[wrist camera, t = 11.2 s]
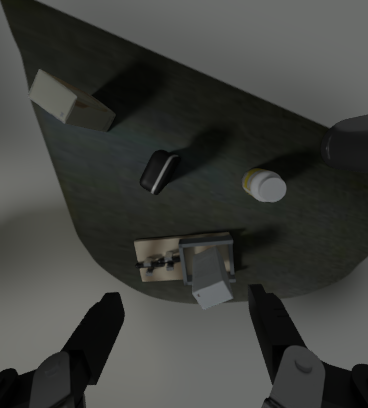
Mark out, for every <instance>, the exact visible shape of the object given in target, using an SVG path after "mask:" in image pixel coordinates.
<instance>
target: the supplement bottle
mask: <svg viewBox="0 0 368 408" xmlns="http://www.w3.org/2000/svg"><path fill="white" fill-rule="evenodd" d="M242 186H243V188H244V190H245V191H246V192H248V193H249V194H250V195H251V196H253V197H254V198H255V199H257V200H259V201H262V202H276V201H278V200H280V199H281V198H282V197H283V196H284V195H285V193H286V184H285V182H284V181H283V180H282V179H281V177H280V176H279V175H278V174H277V173H275V172H272V171H268V170H264V169H260V168H254V169H251V170H249V171H247V172H246V173H245V175H244V176H243V179H242Z"/></svg>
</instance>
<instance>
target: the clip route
mask: <svg viewBox="0 0 368 408" xmlns="http://www.w3.org/2000/svg"><path fill="white" fill-rule="evenodd" d="M180 261H181V260H180V257H173V251H169V252H166V254H165V257H164V258H159V259H158V262H153V257H146V259H145V261H144V263H137V264H136V265H135V266H136V268H148V269H147V271H146V276H153V274H154V271H155V267H163V266H165V263H167V267H166V270H167V271H172V270H174V266H175V262H180Z"/></svg>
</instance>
